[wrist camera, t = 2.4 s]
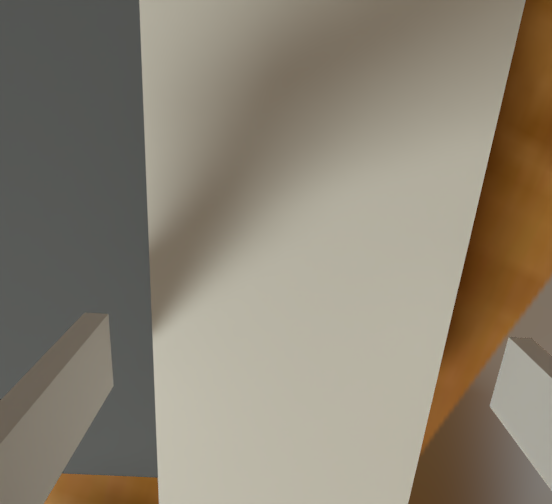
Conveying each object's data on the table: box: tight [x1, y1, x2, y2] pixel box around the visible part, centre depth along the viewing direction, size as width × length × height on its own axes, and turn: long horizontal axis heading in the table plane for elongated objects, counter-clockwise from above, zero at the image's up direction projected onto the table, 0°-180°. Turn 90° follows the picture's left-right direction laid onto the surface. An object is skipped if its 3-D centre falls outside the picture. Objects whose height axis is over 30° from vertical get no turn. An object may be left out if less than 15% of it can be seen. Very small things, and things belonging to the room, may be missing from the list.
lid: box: [139, 0, 526, 504], centre depth 16 cm, size 22×11×3 cm, turn 176°
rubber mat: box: [0, 0, 158, 477], centre depth 23 cm, size 28×16×1 cm, turn 176°
